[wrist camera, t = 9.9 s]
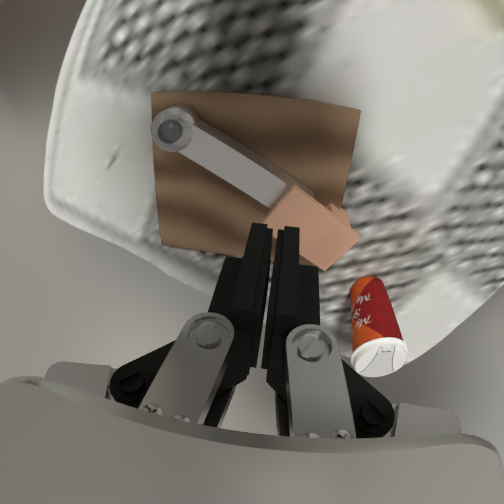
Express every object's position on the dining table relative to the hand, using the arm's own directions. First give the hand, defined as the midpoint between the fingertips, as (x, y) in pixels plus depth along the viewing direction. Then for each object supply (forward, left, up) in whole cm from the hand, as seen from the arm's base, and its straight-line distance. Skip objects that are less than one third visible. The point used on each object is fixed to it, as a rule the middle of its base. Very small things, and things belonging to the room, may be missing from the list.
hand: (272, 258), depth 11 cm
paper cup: (+23, +16, -26) cm, 38 cm away
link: (+4, -6, -24) cm, 25 cm away
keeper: (+10, +4, -25) cm, 28 cm away
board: (+8, -4, -26) cm, 27 cm away
